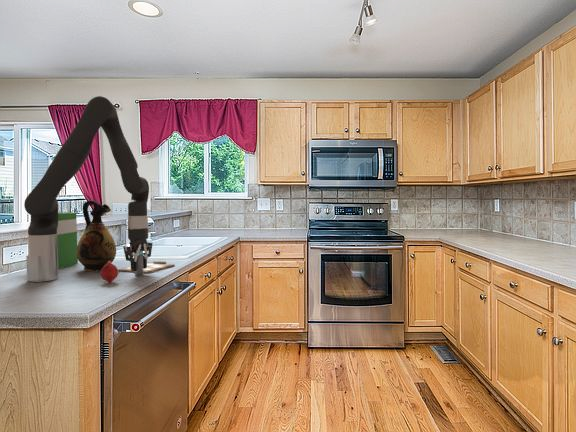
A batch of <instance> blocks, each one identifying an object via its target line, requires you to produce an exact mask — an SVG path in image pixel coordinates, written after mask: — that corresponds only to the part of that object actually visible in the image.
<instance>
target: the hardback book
mask: <svg viewBox="0 0 576 432" xmlns="http://www.w3.org/2000/svg"><path fill="white" fill-rule="evenodd" d="M77 222H78V221H77V212H58V227H57V248H58V270H60V269H64V268H67V267H70V266H74V265H76V264H79V261H78V258H77V246H78V229H77V227H78V225H77Z"/></svg>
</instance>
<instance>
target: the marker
mask: <svg viewBox="0 0 576 432" xmlns="http://www.w3.org/2000/svg"><path fill="white" fill-rule="evenodd" d="M143 255H144V254H143V250H142V251H140V252H139V256H137V260H136V262H137V271H135V273H134V277H143V276H144V273H143Z"/></svg>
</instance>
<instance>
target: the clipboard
mask: <svg viewBox="0 0 576 432" xmlns="http://www.w3.org/2000/svg"><path fill="white" fill-rule="evenodd" d="M175 265H176V264H175V263H167V261H165V260H164V261H162V260H153V261H152V262H148V261H147V268H146V269H143V274H152V273H155V272H159V271H162V270H166V269H169V268H172V267H175ZM117 269H118V272H122V273H123V272H124V273H133V274H135V271H131V265H130V266H128V267H123V268H117Z"/></svg>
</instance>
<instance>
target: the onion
mask: <svg viewBox="0 0 576 432" xmlns="http://www.w3.org/2000/svg"><path fill="white" fill-rule="evenodd" d="M118 269H119V268H118V267H117V266H116V265H115V264H113V263H111V261H109V262H108V263H107V264H106V265H104V267H103V268H102V269H101V271H100V278H101V279H102V280H103V281H104V282H107V283H108V284H111V283H113V281H115V280H116V279H117V277H118V276H119V271H118Z"/></svg>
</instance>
